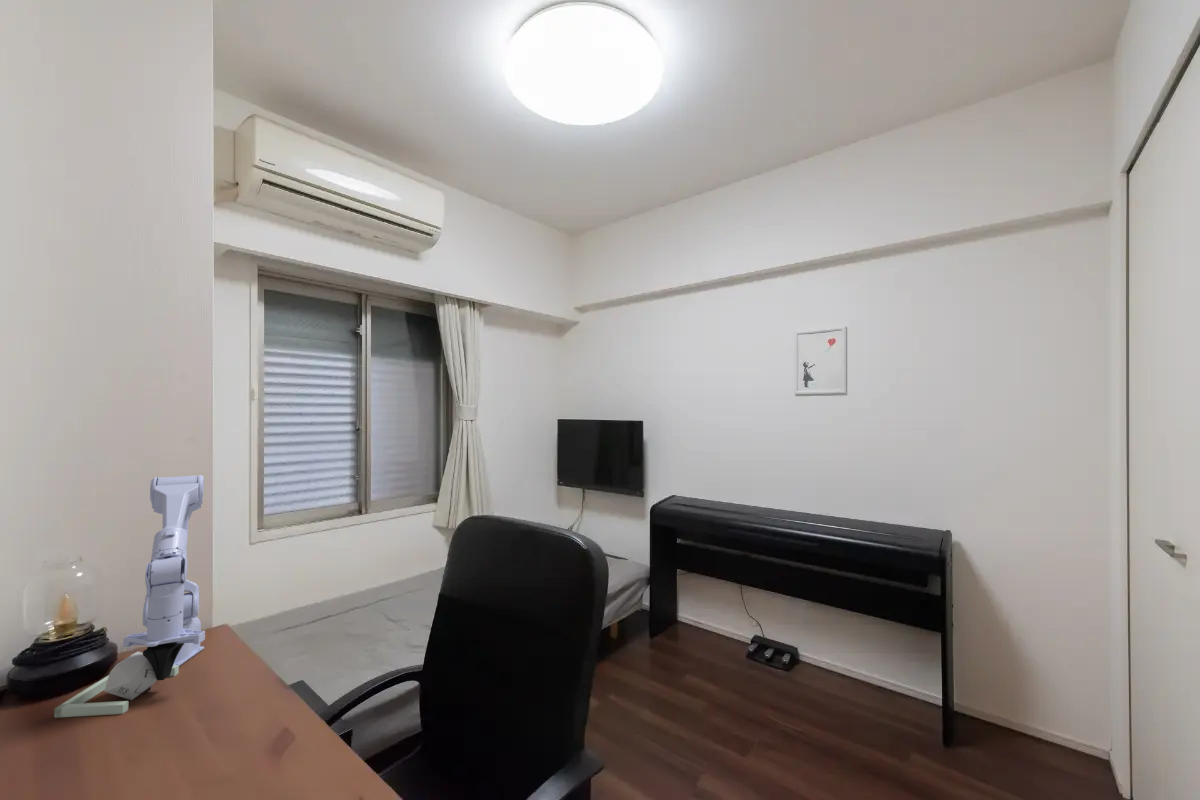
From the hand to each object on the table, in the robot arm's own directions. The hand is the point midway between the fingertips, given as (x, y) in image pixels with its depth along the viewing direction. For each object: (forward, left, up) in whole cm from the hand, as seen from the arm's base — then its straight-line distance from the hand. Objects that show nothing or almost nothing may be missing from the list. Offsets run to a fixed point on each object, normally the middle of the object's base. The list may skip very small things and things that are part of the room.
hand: (163, 677), depth 101 cm
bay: (0, -8, -3) cm, 9 cm away
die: (0, -6, -3) cm, 6 cm away
